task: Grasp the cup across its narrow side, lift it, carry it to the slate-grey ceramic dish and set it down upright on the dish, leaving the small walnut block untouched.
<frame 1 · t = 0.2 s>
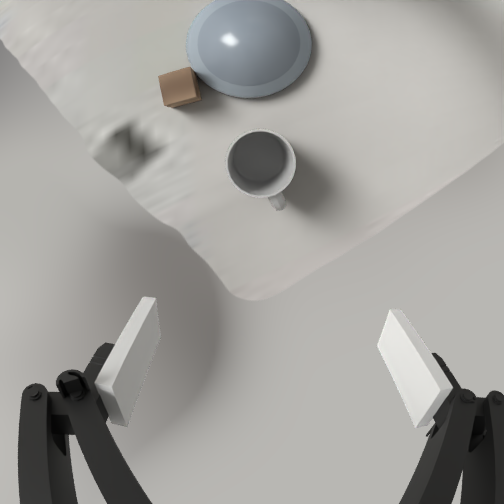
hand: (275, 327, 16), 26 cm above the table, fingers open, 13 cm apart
dish: (248, 42, 31), on the table
walnut block: (184, 90, 34), on the table
cup: (263, 166, 38), on the table
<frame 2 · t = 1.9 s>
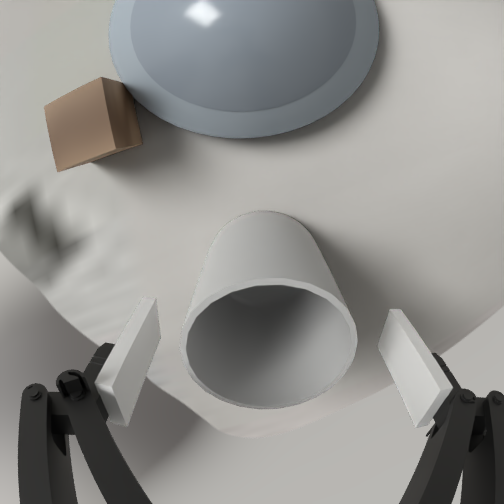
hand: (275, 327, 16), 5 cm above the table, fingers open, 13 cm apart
dish: (242, 14, 13), on the table
walnut block: (109, 124, 16), on the table
cup: (271, 277, 20), on the table
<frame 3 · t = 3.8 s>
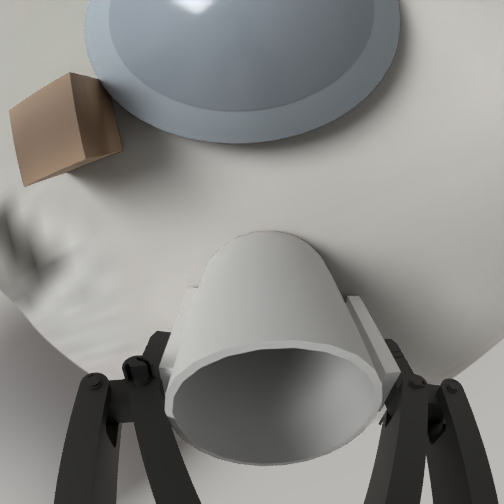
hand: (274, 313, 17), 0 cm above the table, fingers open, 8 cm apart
walnut block: (85, 128, 13), on the table
cup: (275, 305, 17), on the table, touching gripper
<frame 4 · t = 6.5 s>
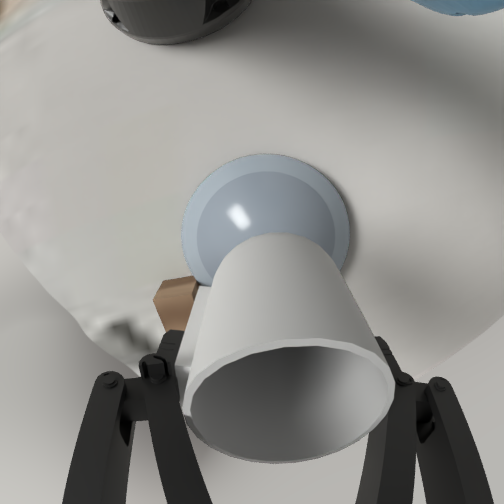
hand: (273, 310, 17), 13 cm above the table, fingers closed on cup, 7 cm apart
dish: (266, 237, 29), on the table
walnut block: (186, 293, 32), on the table
cup: (284, 306, 18), point 12 cm above the table, touching gripper
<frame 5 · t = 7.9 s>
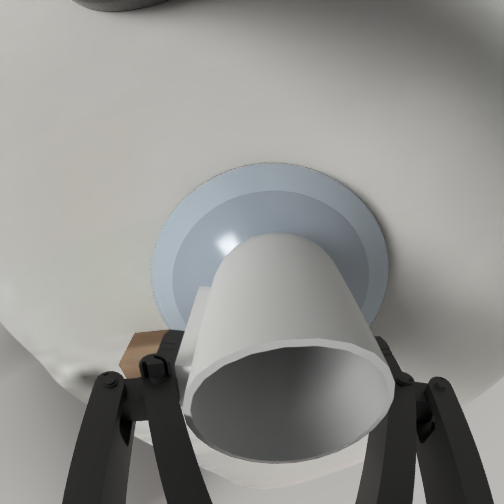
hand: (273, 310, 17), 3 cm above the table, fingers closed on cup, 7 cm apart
dish: (271, 282, 20), on the table
walnut block: (165, 349, 23), on the table
cup: (284, 306, 18), point 3 cm above the table, touching gripper
when the fingers open (2 cm above the table, at t = 9.0 s): cup stays where it is, resting on dish.
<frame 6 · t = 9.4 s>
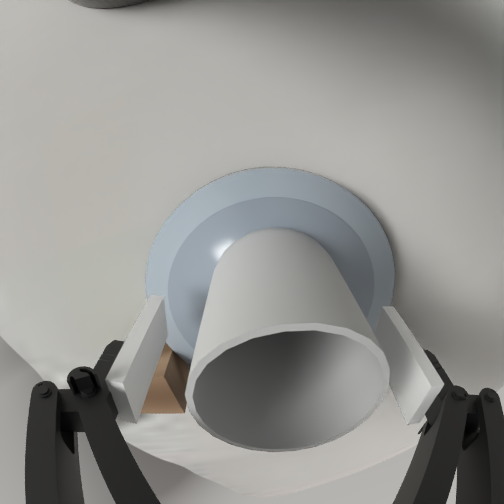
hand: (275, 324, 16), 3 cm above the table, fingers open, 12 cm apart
dish: (271, 293, 19), on the table
walnut block: (161, 360, 22), on the table
cup: (282, 300, 18), point 1 cm above the table, touching dish
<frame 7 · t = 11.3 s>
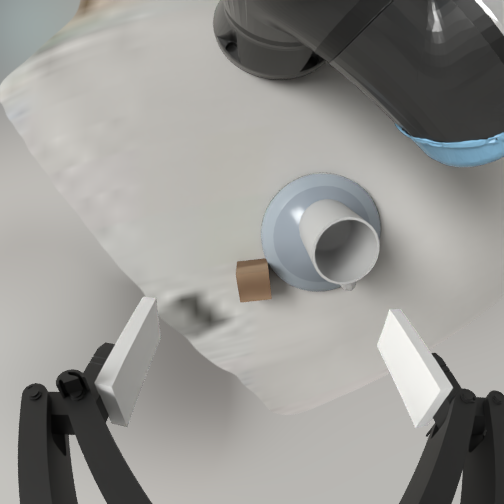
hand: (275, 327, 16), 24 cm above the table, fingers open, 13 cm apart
dish: (321, 233, 39), on the table
walnut block: (253, 273, 41), on the table
cup: (328, 235, 38), point 1 cm above the table, touching dish
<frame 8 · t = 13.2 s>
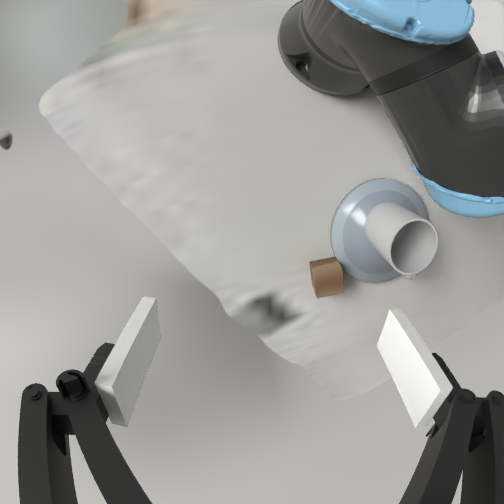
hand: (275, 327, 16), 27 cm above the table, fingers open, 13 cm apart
dish: (380, 231, 42), on the table
walnut block: (323, 270, 44), on the table
cup: (387, 232, 41), point 1 cm above the table, touching dish
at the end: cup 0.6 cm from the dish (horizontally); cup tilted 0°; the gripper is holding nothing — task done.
